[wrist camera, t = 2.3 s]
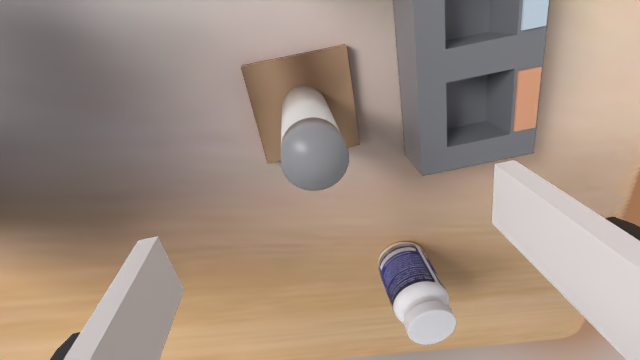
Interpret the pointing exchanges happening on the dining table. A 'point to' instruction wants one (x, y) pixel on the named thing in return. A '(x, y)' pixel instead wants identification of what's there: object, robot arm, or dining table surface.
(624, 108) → the dining table surface
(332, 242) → the dining table surface
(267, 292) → the dining table surface
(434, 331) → the pill bottle
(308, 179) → the plug
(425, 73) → the socket box
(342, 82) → the coaster
